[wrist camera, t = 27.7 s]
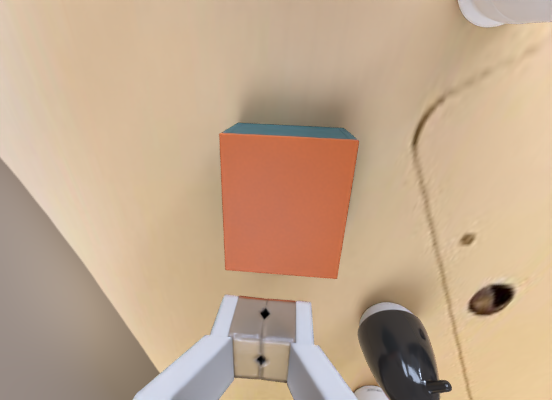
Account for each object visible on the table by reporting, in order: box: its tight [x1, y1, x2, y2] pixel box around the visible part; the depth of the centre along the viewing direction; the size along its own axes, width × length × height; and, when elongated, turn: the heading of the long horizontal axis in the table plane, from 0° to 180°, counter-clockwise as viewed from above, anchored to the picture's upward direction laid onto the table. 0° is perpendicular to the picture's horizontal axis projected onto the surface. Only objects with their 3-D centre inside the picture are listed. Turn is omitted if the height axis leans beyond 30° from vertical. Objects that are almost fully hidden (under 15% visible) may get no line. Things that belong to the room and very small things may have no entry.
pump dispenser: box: [358, 302, 452, 400], centre depth 37 cm, size 10×10×15 cm
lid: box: [219, 133, 359, 279], centre depth 28 cm, size 16×14×1 cm
